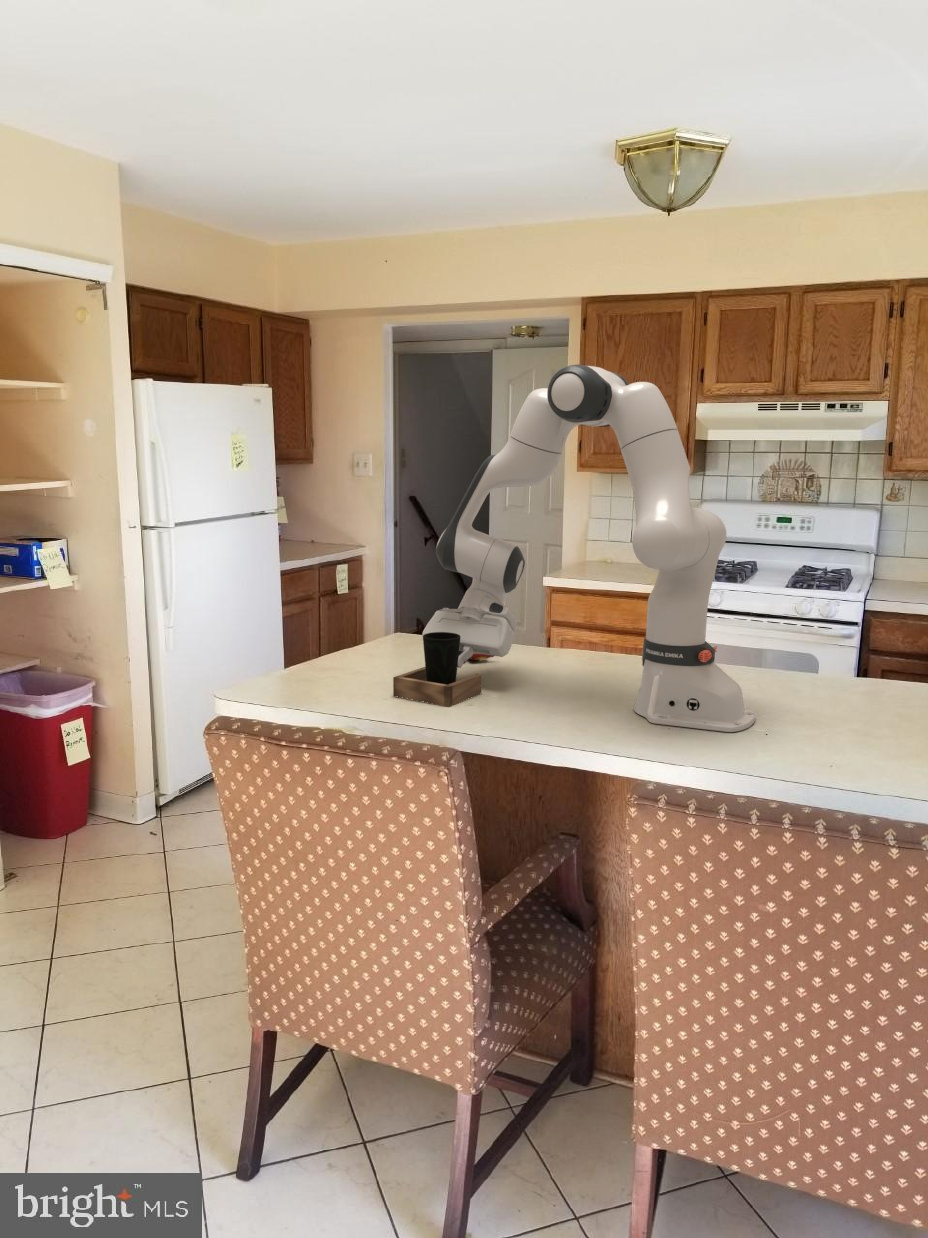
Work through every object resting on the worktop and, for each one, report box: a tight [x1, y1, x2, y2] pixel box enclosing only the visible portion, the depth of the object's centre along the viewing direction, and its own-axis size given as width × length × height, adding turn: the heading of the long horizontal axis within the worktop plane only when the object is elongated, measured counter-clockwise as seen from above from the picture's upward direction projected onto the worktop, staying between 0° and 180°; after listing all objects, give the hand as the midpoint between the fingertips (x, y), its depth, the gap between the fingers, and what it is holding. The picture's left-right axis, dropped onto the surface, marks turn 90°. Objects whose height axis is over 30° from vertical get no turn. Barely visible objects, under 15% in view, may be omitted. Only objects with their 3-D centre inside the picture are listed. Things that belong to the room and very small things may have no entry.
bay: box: [392, 666, 483, 708], centre depth 191 cm, size 13×12×4 cm
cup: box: [422, 632, 460, 685], centre depth 191 cm, size 8×8×12 cm
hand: (453, 665), depth 195 cm, fingers closed, pressing on cup
